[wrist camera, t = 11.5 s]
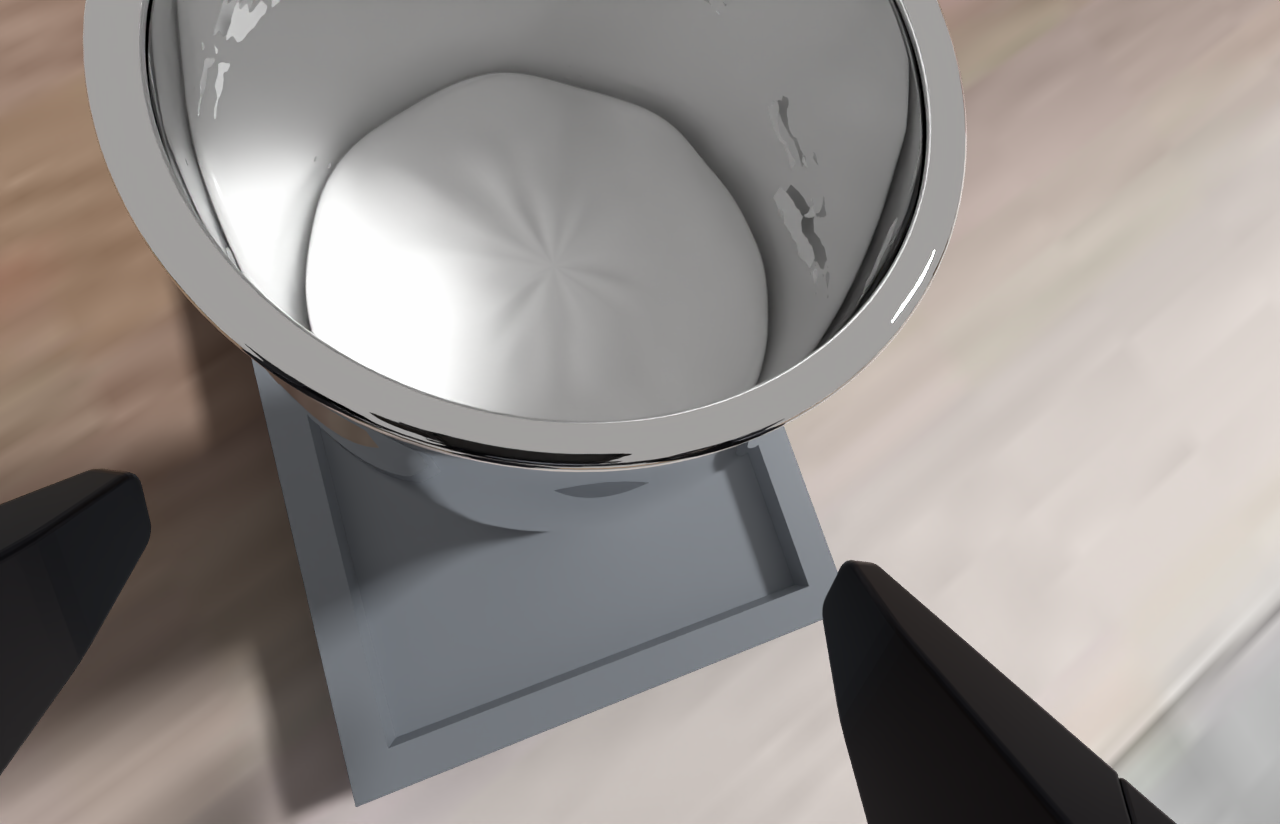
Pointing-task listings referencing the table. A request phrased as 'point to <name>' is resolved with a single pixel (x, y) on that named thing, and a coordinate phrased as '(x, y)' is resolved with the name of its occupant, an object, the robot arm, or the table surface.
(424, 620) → the grey tray
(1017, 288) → the table surface
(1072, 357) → the table surface
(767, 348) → the silver metal cup
